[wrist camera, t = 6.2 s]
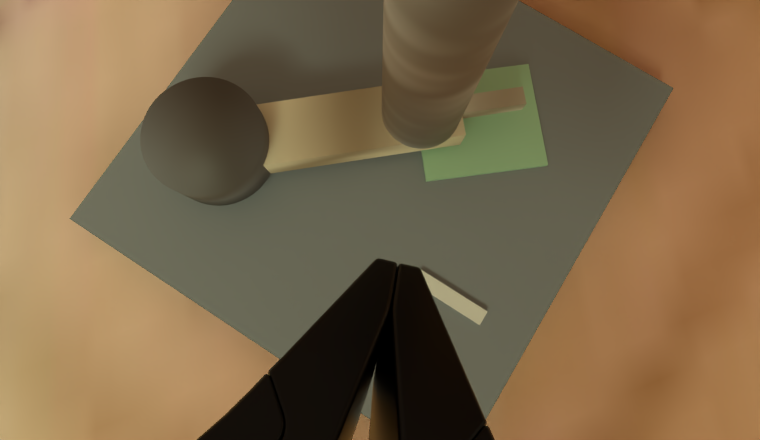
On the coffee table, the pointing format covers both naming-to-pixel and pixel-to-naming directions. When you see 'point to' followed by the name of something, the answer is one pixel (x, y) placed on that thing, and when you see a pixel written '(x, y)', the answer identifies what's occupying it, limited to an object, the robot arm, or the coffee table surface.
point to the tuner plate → (393, 186)
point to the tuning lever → (334, 107)
